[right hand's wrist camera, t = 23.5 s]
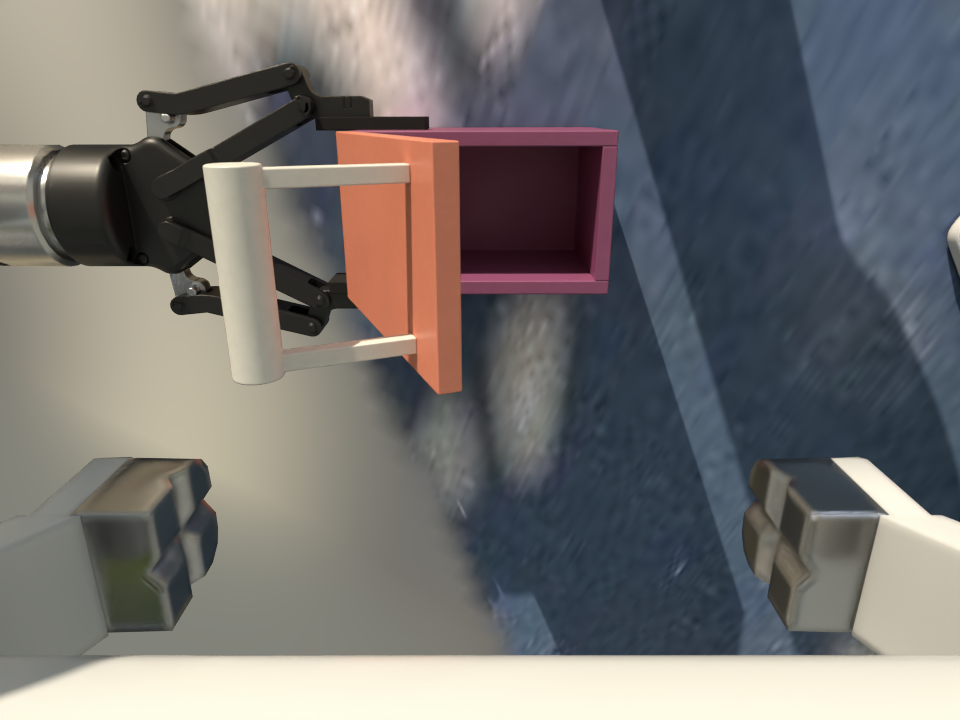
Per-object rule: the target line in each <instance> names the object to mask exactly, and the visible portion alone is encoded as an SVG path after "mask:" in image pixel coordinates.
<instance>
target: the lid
mask: <svg viewBox="0 0 960 720" xmlns="http://www.w3.org/2000/svg"><path fill="white" fill-rule="evenodd" d="M336 139H337V153H338V165H314V166H281V167H262V165H261V164H260V163H254V162H227V163H210V164H205V165H203V174H204V181H205V188H206V195H207V202H208V209H209V216H210V223H211V230H212V238H213V245H214V252H215V259H216V266H217V273H218V280H219V287H220V294H221V301H222V309H223V316H224V323H225V330H226V337H227V344H228V351H229V358H230V365H231V373H232V379H233V380H234V382H236V383H239V384H242V385H261V384H267V383H271V382H274V381H276V380H279V379H280V378H282V377H283V376H284V374H285V372H288V371H295V370H302V369H309V368H316V367H324V366H330V365H338V364H345V363H352V362H359V361H367V360H374V359H381V358H388V357H395V356H403V357H404V358H405V359H406V361H407V362H408V363H409V364H410V365H411V366H412V367H413V368H414V369H415V370H416V371H417V372H418V373H419V375H420V376H421V377H422V378H423V379H424V380H425V381H426V382H427V383H428V384H429V385H430V386H431V387H432V389H433V390H434V391H435V392H436V393H437V394H438V395H442V394H448V393H454V392H460V391H462V341H461V261H460V181H459V141H456V140H444V139H433V138H422V137H411V136H400V135H389V134H378V133H366V132H355V131H338V132H336ZM328 186H340V194H341V208H342V221H343V235H344V249H345V263H346V276H347V290H348V298H349V299H350V300H351V301H352V302H353V303H354V304H355V306H356V307H357V308H358V309H359V310H360V311H361V312H362V313H363V314H364V315H365V316H366V317H367V318H368V320H369V321H370V322H371V323H372V324H373V325H374V326H375V327H376V328H377V329H378V330H379V331H380V332H381V334H382V335H383V336H384V337H378V338H370V339H363V340H355V341H347V342H339V343H331V344H323V345H315V346H308V347H300V348H292V349H284V350H283V349H282V340H281V332H280V322H279V313H278V304H277V296H276V286H275V277H274V268H273V259H272V251H271V241H270V232H269V223H268V214H267V205H266V196H265V189H279V188H304V187H328Z"/></svg>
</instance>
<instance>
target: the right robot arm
mask: <svg viewBox="0 0 960 720" xmlns="http://www.w3.org/2000/svg"><path fill="white" fill-rule="evenodd" d="M947 242H948V246H949V249H950V251H951V254H952V257H953V260H954V263H955V265H956V268H957V271H958V274H959V277H960V217H959V218H958V219H957V220H956V221H955V222H954V224H953V225H952V226H951V228H950V230H949V232H948V235H947ZM210 488H211V481H210V476H209V471H208V466H207V465H206V464H205V463H204V462H203V460H202V459H167V458H132V457H118V458H97V459H93V460H92V461H91V462H90V463H88V464H87V465H86V466H85V467H84V468H83V469H81V470H80V471H79V472H78V473H77V474H76V475H75V476H74V477H72V478H71V479H70V480H69V481H68V482H67V483H65V484H64V485H63V486H62V487H61V488H60V489H59V490H58V491H56V492H55V493H54V494H53V495H52V496H51V497H49V498H48V499H47V500H46V501H45V502H44V503H43V504H41V505H40V506H39V507H38V508H37V509H36V510H35V511H33V512H32V513H31V514H30V515H18V516H15V517H12V518H10V519H7V520H5V521H2V522H0V720H960V522H958V521H955V520H953V519H950V518H948V517H945V516H943V515H930V514H929V513H928V512H927V511H925V510H924V509H923V508H922V507H921V506H920V505H919V504H918V503H916V502H915V501H914V500H913V499H912V498H911V497H910V496H908V495H907V494H906V493H905V492H904V491H903V490H902V489H900V488H899V487H898V486H897V485H896V484H895V483H894V482H892V481H891V480H890V479H889V478H888V477H887V476H886V475H884V474H883V473H882V472H881V471H880V470H879V469H878V468H876V467H875V466H874V465H873V464H872V463H871V462H870V461H868V460H867V459H864V458H860V457H846V458H794V459H763V460H757V461H755V463H754V466H753V468H752V470H751V474H750V480H749V488H750V489H751V491H752V493H753V494H754V496H755V497H756V499H757V500H756V501H755V502H754V503H753V504H752V505H751V506H750V507H749V508H748V509H747V510H746V511H745V512H744V518H743V527H742V539H743V549H744V553H745V556H746V559H747V562H748V565H749V566H750V568H751V570H752V572H753V573H754V575H755V576H756V577H758V578H759V579H761V580H763V581H764V582H766V583H767V584H769V591H768V596H767V597H768V599H769V600H770V602H771V604H772V605H773V607H774V609H775V610H776V612H777V613H778V615H779V617H780V618H781V620H782V622H783V623H784V625H785V627H786V628H787V630H788V631H816V632H852V636H853V637H855V638H856V639H857V640H859V641H860V642H861V643H863V644H864V645H865V646H867V647H868V648H870V649H871V650H872V651H874V652H875V653H876V654H878V655H82V654H84V653H85V652H86V651H88V650H89V649H91V648H92V647H93V646H95V645H96V644H97V643H99V642H100V641H102V640H103V639H104V638H106V637H107V636H108V632H143V631H172V630H173V628H174V627H175V625H176V623H177V622H178V620H179V619H180V617H181V615H182V614H183V612H184V610H185V609H186V607H187V605H188V604H189V602H190V600H191V599H192V591H191V584H192V583H194V582H196V581H197V580H199V579H201V578H202V577H204V576H205V575H206V573H207V572H208V570H209V568H210V566H211V565H212V563H213V560H214V556H215V552H216V548H217V543H218V525H217V517H216V512H215V511H214V510H213V509H212V508H211V507H210V506H209V505H208V504H207V503H206V502H205V501H204V500H203V499H204V497H205V496H206V494H207V493H208V491H209V489H210Z"/></svg>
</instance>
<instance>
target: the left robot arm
mask: <svg viewBox="0 0 960 720" xmlns="http://www.w3.org/2000/svg"><path fill="white" fill-rule="evenodd" d="M285 91H288V92H289V94H290V97H291V99H292V101H291V102H289V103H287V104H285V105H284V106H282V107H280V108H279V109H277V110H275V111H274V112H272V113H270V114H269V115H267V116H265V117H264V118H262V119H260V120H258V121H257V122H255V123H253V124H252V125H250V126H248V127H247V128H245V129H243V130H242V131H240V132H238V133H236V134H235V135H233V136H231V137H230V138H228V139H226V140H225V141H223V142H221V143H220V144H218V145H216V146H215V147H213V148H211V149H208V150H206V151H204V152H202V153H200V154H198V155H197V156H195V155H194V154H192V153H191V152H189V151H188V150H187V149H185V148H184V147H182V146H181V145H179V144H178V143H176V142H175V141H173V140H172V139H170V134H171V132H172V131H173V130H174V129H176V128H181V127H183V126H184V125H185V124H186V120H187V115H197V114H204V113H208V112H212V111H215V110H219V109H223V108H226V107H230V106H234V105H237V104H241V103H245V102H248V101H252V100H255V99H259V98H263V97H266V96H270V95H274V94H277V93H281V92H285ZM137 104H138V106H139V107H140V108H141V109H142V110H143V111H146V122H147V137H146V138H144V139H142V140H141V141H140V142H138V143H136V144H133V145H69V146H67V147H63V146H60V145H0V265H2V266H76V265H79V264H83V265H86V266H151V267H155V268H158V269H160V270H162V271H164V272H166V273H169V274H170V277H171V281H172V285H173V288H174V292H175V296H176V297H175V298H174V299H173V300H172V301H171V303H170V306H171V309H172V311H173V312H174V313H176V314H178V315H186V314H196V313H206V312H208V313H212V314H216V315H221V316H223V309H222V301H221V294H220V287H219V286H210V283H209V281H207V280H206V279H204V278H199V277H196V276H194V275H193V274H192V273H191V271H190V268H191V267H192V266H193V265H194V264H196V263H197V262H198V261H199V260H201V259H202V258H205V259H207V260H209V261H211V262H213V263H216V259H215V252H214V245H213V238H212V230H211V223H210V216H209V209H208V202H207V195H206V188H205V181H204V174H203V165H205V164H210V163H227V162H241V161H243V160H245V159H246V158H248V157H250V156H251V155H253V154H255V153H257V152H258V151H260V150H262V149H263V148H265V147H267V146H269V145H270V144H272V143H274V142H275V141H277V140H279V139H281V138H282V137H284V136H286V135H287V134H289V133H291V132H293V131H294V130H296V129H298V128H299V127H301V126H303V125H305V124H306V123H308V122H310V121H311V120H313V119H315V121H316V130H427V129H429V117H373V100H371V99H369V98H366V97H363V96H321V95H319V94H318V93H317V92H316V91H315V90H314V88H313V85H312V83H311V81H310V75H309V72H308V70H307V69H306V68H305V67H303V66H300V65H297V64H293V63H284V64H280V65H276V66H273V67H269V68H266V69H262V70H258V71H255V72H251V73H248V74H244V75H240V76H237V77H233V78H229V79H226V80H222V81H219V82H215V83H211V84H208V85H204V86H201V87H197V88H194V89H190V90H186V91H183V92H179V93H171V92H161V91H148V90H144V91H141V92H139V94H138V95H137ZM272 259H273V268H274V277H275V286H276V290H278V291H280V292H282V293H284V294H286V295H288V296H290V297H292V298H294V299H296V300H298V301H301V302H303V303H305V304H307V305H309V306H310V307H309V306H305V305H301V304H296V303H292V302H288V301H284V300H279V299H277V304H278V313H279V322H280V329H281V330H286V331H290V332H295V333H299V334H303V335H307V336H317V335H319V334H320V333H321V331H322V330H323V329H324V327H325V326H326V325H327V323H328V321H329V316H330V312H331V310H332V309H337V308H357V307H356V306H355V304H354V303H353V302H352V301H351V300H350V299H349V298H348V290H347V276H346V273H337V274H336V275H335V276H334V277H333V278H332V279H331V280H330V281H329V282H328V283H327V282H325V281H323V280H321V279H319V278H317V277H315V276H313V275H311V274H309V273H307V272H305V271H303V270H301V269H299V268H297V267H295V266H293V265H291V264H289V263H287V262H285V261H283V260H280V259H278V258H276V257H274V256H272Z"/></svg>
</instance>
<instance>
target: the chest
mask: <svg viewBox="0 0 960 720" xmlns="http://www.w3.org/2000/svg"><path fill="white" fill-rule="evenodd" d="M354 131H355V132H366V133H378V134H389V135H400V136H411V137H422V138H433V139H444V140H456V141H459V181H460V261H461V294H608V285H609V281H608V280H609V271H610V256H611V241H612V226H613V211H614V195H615V180H616V165H617V150H618V147H617V145H618V134H619V132H618V131H617V130H608V129H600V128H591V127H498V128H429V129H427V130H354Z"/></svg>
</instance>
